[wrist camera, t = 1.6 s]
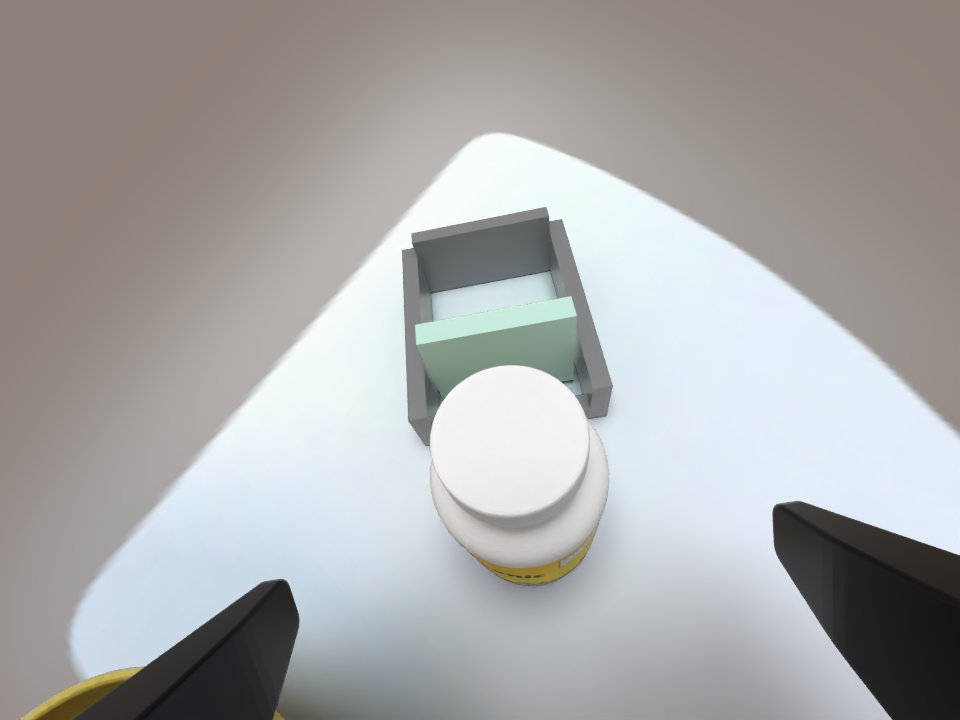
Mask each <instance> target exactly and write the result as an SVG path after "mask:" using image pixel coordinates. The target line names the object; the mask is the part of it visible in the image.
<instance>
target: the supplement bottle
mask: <svg viewBox="0 0 960 720" xmlns="http://www.w3.org/2000/svg"><path fill="white" fill-rule="evenodd" d="M430 453H431V459H432V461H431V466H430V486H431V493H432V497H433V501H434V505H435V507H436V510H437V512H438V514H439V516H440V519H441V520H442V522H443V523H444V525H445V527H446V528H447V530H448V532H449V533H450V534H451V535H452V536H453V537H454V538H455V539H456V541H457V542H458V543H459V544H460V545H461V546H462V547H464V548H465V549H466V550H467V551H468V552H469V553H470V554H471V555H472V556H474V557H475V558H476V559H477V560H478V561H479V562H481V563H482V564H483V565H484V566H485V567H486V568H488V569H489V570H490V571H491V572H493V573H494V574H496V575H497V576H499V577H501V578H503V579H505V580H507V581H510V582H513V583H516V584H521V585H542V584H547V583H550V582H553V581H556V580H558V579H560V578H562V577H563V576H565V575H567V574H568V573H569V572H571V571H572V570H573V569H574V568H575V567H576V566H577V565H578V564H579V563H580V562H581V561H582V559H583V558H584V556H585V555H586V553H587V551H588V549H589V547H590V545H591V543H592V540H593V538H594V535H595V532H596V530H597V527H598V524H599V521H600V518H601V516H602V513H603V510H604V507H605V504H606V500H607V495H608V487H609V467H608V461H607V456H606V452H605V449H604V446H603V443H602V441H601V439H600V437H599V435H598V433H597V431H596V429H595V428H594V426H593V425H592V423H591V422H590V421H589V420H588V419H587V418H586V416H585V413H584V410H583V408H582V406H581V405H580V403H579V401H578V399H577V398H576V397H575V395H574V394H573V393H572V392H571V391H570V390H569V389H568V388H567V387H566V386H565V385H564V384H563V383H562V382H560V381H559V380H558V379H556V378H555V377H553V376H551V375H549V374H548V373H545V372H543V371H541V370H538V369H535V368H531V367H526V366H516V365H505V366H497V367H492V368H488V369H485V370H482V371H479V372H477V373H475V374H473V375H471V376H470V377H468V378H466V379H465V380H463V381H462V382H461V383H459V384H458V385H457V386H456V387H455V388H453V389H452V390H451V392H450V393H449V394H448V395H447V396H446V398H445V399H444V400H443V402H442V403H441V405H440V407H439V409H438V410H437V413H436V415H435V418H434V421H433V424H432V428H431V434H430Z"/></svg>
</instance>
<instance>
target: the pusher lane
mask: <svg viewBox="0 0 960 720" xmlns="http://www.w3.org/2000/svg"><path fill="white" fill-rule="evenodd" d="M412 244H413V247H414V248H411V249H406V250H402V261H403V289H404V316H405V343H406V371H407V398H408V421H409V422H410V424H411V425H412V427H413V428H414V430H415V431H416V432H417V434H418V435H419V437H420V438H421V440H422V441H423V443H424V444H425V445H426V446H428V445H430V434H431V428H432V424H433V421H434V418H435V415H436V413H437V410H438V409H439V394H438V389H437V387H436V385H435V383H434V380H433V378H432V376H431V374H430V372H429V370H428V368H427V366H426V364H425V362H424V360H423V358H422V356H421V354H420V352H419V350H418V348H417V346H416V333H415V325H417V324H422V323H428V322H433V316H432V303H431V293H433V292H439V291H444V290H449V289H455V288H460V287H465V286H471V285H476V284H481V283H487V282H492V281H497V280H503V279H508V278H513V277H519V276H524V275H529V274H534V273H540V272H545V271H551V275H552V279H553V282H554V286H555V290H556V294H557V298H564V297H569V296H571V297H572V301H573V304H574V308H575V311H576V315H577V323H576V342H575V361H574V362H575V366H576V370H577V374H578V378H579V381H580V385H581V389H582V393H583V395H577V396H575V397H576V398H577V399H578V401H579V403H580V405H581V406H582V408H583V410H584V413H585V416H586V418H587V419H590V418H596V417H602V416H607V411H608V406H609V401H610V397H611V392H612V387H613V385H612V382H611V379H610V375H609V372H608V369H607V365H606V362H605V359H604V356H603V352H602V349H601V346H600V342H599V339H598V336H597V333H596V329H595V326H594V323H593V319H592V316H591V313H590V310H589V306H588V303H587V300H586V296H585V293H584V290H583V287H582V283H581V280H580V277H579V273H578V270H577V267H576V264H575V260H574V257H573V254H572V250H571V247H570V244H569V241H568V237H567V234H566V231H565V227H564V224H563V221H562V219H560V220H555V221H550V222H549V215H548V211H547V208H546V207H544V208H539V209H534V210H528V211H523V212H518V213H513V214H508V215H503V216H498V217H493V218H488V219H483V220H478V221H473V222H468V223H463V224H457V225H452V226H447V227H442V228H437V229H432V230H427V231H422V232H417V233H412Z"/></svg>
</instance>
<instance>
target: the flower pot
mask: <svg viewBox="0 0 960 720" xmlns="http://www.w3.org/2000/svg"><path fill="white" fill-rule="evenodd" d="M143 668H144V667H131V668H126V669H120V670H115V671H111V672H108V673H104V674H101V675H98V676H95V677H93V678H90V679H87V680H84V681H82V682H79V683H77V684H76V685H74V686H72V687H70V688H68V689H66V690H64V691H62V692H60V693H58V694H56V695H55V696H53V697H52V698H50V699H48V700H47V701H45V702H44V703H42V704H41V705H39V706H38V707H36V708H35V709H33V710H32V711H30V712H29V713H28V714H26V715H25V716H24V717H23V718H21V719H20V720H72V719H74V718H75V717H76V716H78V715H79V714H80V713H82V712H83V711H85V710H86V709H87V708H89V707H90V706H92V705H93V704H94V703H96V702H97V701H98V700H100V699H101V698H103V697H104V696H105V695H107V694H108V693H110V692H111V691H112V690H114V689H115V688H116V687H118V686H119V685H121V684H122V683H123V682H125V681H126V680H127V679H129V678H130V677H132V676H133V675H134V674H136V673H137V672H139V671H140V670H141V669H143ZM273 720H285V719H284V718H283V717H282V716H281V715H280V714H279V713H278V712H277V711H275V715H274V718H273Z"/></svg>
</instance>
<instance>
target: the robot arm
mask: <svg viewBox="0 0 960 720" xmlns="http://www.w3.org/2000/svg"><path fill="white" fill-rule="evenodd" d="M773 535H774V547H775V551H776V554H777V556H778V558H779V560H780V562H781V563H782V565H783V566H784V568H785V570H786V571H787V573H788V574H789V576H790V577H791V579H792V580H793V582H794V584H795V585H796V587H797V588H798V590H799V591H800V593H801V594H802V596H803V598H804V599H805V601H806V602H807V604H808V605H809V607H810V609H811V610H812V612H813V613H814V615H815V616H816V618H817V619H818V621H819V623H820V624H821V626H822V627H823V629H824V630H825V632H826V633H827V635H828V636H829V638H830V639H831V641H832V642H833V644H834V645H835V646H836V648H837V649H838V650H839V652H840V653H841V654H842V656H843V657H844V658H845V660H846V661H847V662H848V663H849V665H850V666H851V667H852V669H853V670H854V671H855V672H856V674H857V675H858V676H859V678H860V679H861V680H862V681H863V683H864V684H865V685H866V687H867V688H868V689H869V690H870V692H871V693H872V694H873V696H874V697H875V698H876V699H877V701H878V702H879V703H880V705H881V706H882V707H883V708H884V710H885V711H886V712H887V714H888V715H889V716H890V717H891V719H892V720H960V555H957V554H954V553H951V552H948V551H945V550H942V549H939V548H936V547H933V546H930V545H928V544H925V543H922V542H919V541H916V540H913V539H910V538H907V537H904V536H901V535H898V534H895V533H892V532H889V531H886V530H884V529H881V528H878V527H875V526H872V525H869V524H866V523H863V522H860V521H857V520H854V519H851V518H848V517H845V516H842V515H839V514H837V513H834V512H831V511H828V510H825V509H822V508H819V507H816V506H813V505H810V504H807V503H804V502H801V501H793V502H787V503H780V504H776V505H775V506H774V508H773ZM298 628H299V614H298V610H297V607H296V604H295V601H294V598H293V595H292V592H291V589H290V586H289V584H288V582H287V581H286V580H284V579H277V580H270V581H264V582H262V583H260V584H259V585H257V586H256V587H255V588H253V589H252V590H251V591H249V592H248V593H246V594H245V595H244V596H242V597H241V598H239V599H238V600H237V601H235V602H234V603H233V604H231V605H230V606H228V607H227V608H226V609H224V610H223V611H222V612H220V613H219V614H217V615H216V616H215V617H213V618H212V619H210V620H209V621H208V622H206V623H205V624H204V625H202V626H201V627H199V628H198V629H197V630H195V631H194V632H192V633H191V634H190V635H188V636H187V637H186V638H184V639H183V640H181V641H180V642H179V643H177V644H176V645H174V646H173V647H172V648H170V649H169V650H168V651H166V652H165V653H163V654H162V655H161V656H159V657H158V658H157V659H155V660H154V661H152V662H151V663H150V664H148V665H147V666H145V667H144V668H143V669H141V670H140V671H139V672H137V673H136V674H134V675H133V676H132V677H130V678H129V679H127V680H126V681H125V682H123V683H122V684H121V685H119V686H118V687H116V688H115V689H114V690H112V691H111V692H110V693H108V694H107V695H105V696H104V697H103V698H101V699H100V700H98V701H97V702H96V703H94V704H93V705H92V706H90V707H89V708H87V709H86V710H85V711H83V712H82V713H80V714H79V715H78V716H76V717H75V718H74V719H72V720H273V718H274V715H275V711H276V708H277V705H278V702H279V698H280V694H281V691H282V687H283V683H284V680H285V676H286V673H287V669H288V665H289V662H290V658H291V654H292V651H293V647H294V643H295V640H296V636H297V633H298Z"/></svg>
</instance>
